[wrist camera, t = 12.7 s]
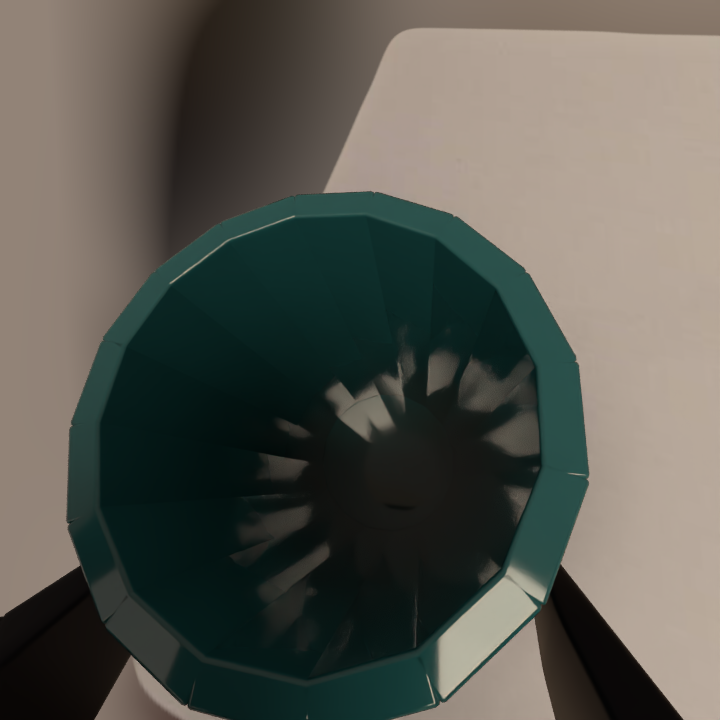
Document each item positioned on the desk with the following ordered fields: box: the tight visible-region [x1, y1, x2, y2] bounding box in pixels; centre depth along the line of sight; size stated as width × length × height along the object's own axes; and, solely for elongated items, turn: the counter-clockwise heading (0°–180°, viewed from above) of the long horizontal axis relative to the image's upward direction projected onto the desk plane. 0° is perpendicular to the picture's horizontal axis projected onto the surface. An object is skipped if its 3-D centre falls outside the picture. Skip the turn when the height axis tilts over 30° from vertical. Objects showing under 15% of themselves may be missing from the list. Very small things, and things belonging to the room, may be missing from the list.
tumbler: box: [66, 191, 589, 720], centre depth 11 cm, size 7×7×13 cm
